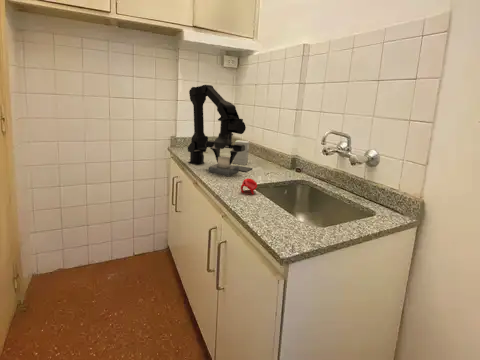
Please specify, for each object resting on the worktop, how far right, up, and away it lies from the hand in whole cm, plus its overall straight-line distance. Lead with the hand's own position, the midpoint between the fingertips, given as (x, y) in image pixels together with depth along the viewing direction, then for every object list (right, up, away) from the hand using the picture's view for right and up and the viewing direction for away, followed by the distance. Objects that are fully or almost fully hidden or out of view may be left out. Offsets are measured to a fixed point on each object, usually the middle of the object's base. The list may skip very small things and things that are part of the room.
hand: (224, 163), depth 152 cm
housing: (0, -4, +1) cm, 5 cm away
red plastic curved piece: (+11, -13, -28) cm, 33 cm away
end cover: (0, -4, +1) cm, 4 cm away
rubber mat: (+8, -3, +10) cm, 14 cm away
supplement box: (+8, +1, +26) cm, 27 cm away
